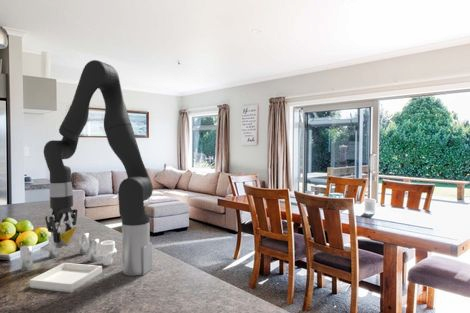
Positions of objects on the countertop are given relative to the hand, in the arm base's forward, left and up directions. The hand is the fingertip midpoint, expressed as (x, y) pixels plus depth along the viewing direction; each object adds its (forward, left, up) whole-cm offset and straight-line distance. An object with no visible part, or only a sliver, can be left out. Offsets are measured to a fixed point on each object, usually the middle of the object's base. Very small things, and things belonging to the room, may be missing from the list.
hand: (63, 240), depth 122 cm
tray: (-12, +12, -9) cm, 19 cm away
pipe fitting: (-16, -4, -9) cm, 19 cm away
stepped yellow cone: (0, -1, -3) cm, 3 cm away
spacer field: (0, -3, -9) cm, 9 cm away
